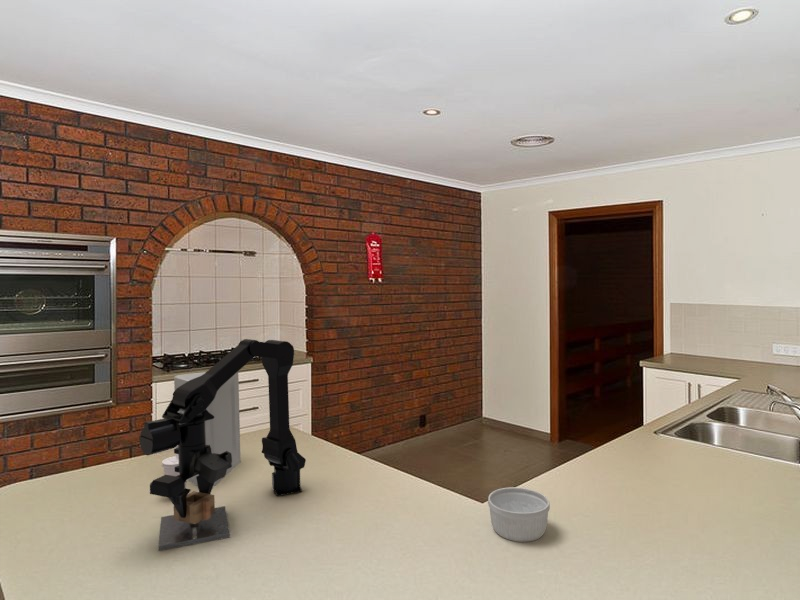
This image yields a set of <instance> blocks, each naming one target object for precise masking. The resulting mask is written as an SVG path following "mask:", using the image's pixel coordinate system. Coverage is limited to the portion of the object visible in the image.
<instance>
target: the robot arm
mask: <svg viewBox="0 0 800 600" xmlns="http://www.w3.org/2000/svg"><path fill="white" fill-rule="evenodd" d="M255 357H260V358H261V364H262V366H263V368H264V370H265V372H266V374H267V377H268V378H267V380H268V382H267V384H268V406H269V431H268V433H267V435H266V436H264V437H261V444H262V448H261V449H262V450H261V454H263V456H264V459H266V460H267V461H268V464H269V466H271V467H273V471H272V473H271V484H272V486H271V487H272V490H273V492H275V494H276V496H277V497H278V496H284V495H291V494H295V493H301V492H303V490H302V487H301V469H304V468H305V465H306V462H307V459H306V458H305V457H304V456H303V455H302V454H300V453H299V452H298V447H297V442H296V438H295V437H294V435H293V433H292V431H291V429H290V404H289V403H290V402H289V377H288V376H289V373H290V370H291V369H292V367H293V365H294V360H295V359H294V358H295V348H294V346H293V345H292V343H290V342H288V341H285V340H278V339H277V340H275V339H268V340H266V341H259V340H257V339H251V338H250V339H248V338H244V339H242V340H241V341H239V343H238V344H237V346H235V347H234V348H233V349H232V350H231V351H229V352H228V353H226V355H225V356H224V357H222V358H221V359H220V360H219V361H218V362H217V363H215V364H214V365H212V367H211V368H209V369H208V370H207V371H205V372H206V373H205V374H203V375H201V376H200V377H197V378H194V379H192V380H190V381H188V382H186V383H185V384H183V385H181V386H180V387H178V388H177V389H176V390H175V389H174V391H173V393H172V399H171V400H170V402H169V404H168V406H166V409H165V410H164V412H163V414H162V415H161V419H156V420H147V421H144V423H143V428H142V429H141V431H140V435H139V436H138V437H139V438H138V440H139V441H138V442H139V446H140V449H141V451H142V453H143V454H144V455H145V456H151V455H156V454H158V453H162V452H166V451H169V450H173V453H174V454H175V455H176V454H178V456H179V466H176V467H175V472H179V474H180V475H178V476H171V475H165V474H164V475H162V476H160V477H157V478H154V479H153V480H152V481H151V482H150V484H149V494H150V495H155V496H158V497H163V498H168V500H170V501H171V503H172V505H173V507H174V506H175V508H176V510H177V512H178V513H179V515H180V517H181V518H185V517H186V508H187V494H189V493H191V490H192V489H190V488H187V482H189V481H188V480H190V479H192V478H194V477H196V479H197V484H198V486H197V488H198V492H201V493H206V494H211V493H212V490H213V487H214V486H213V485H214V482H216V481H217V480H219V479H221V478H223V479H224V478H225V477H226V476H227V475H226V472H227V469H229V468H231V467H232V455H231V453H230V452H228V451H225V452H223V453H221V454H216V453H213V454H212V452H211V447H210V445H206V433H205V421H207V420H211V419H214V416H213V415H212V414H210V413H209V412H208V411H207V410H206V409H207V407H208V406H209V405H210V404H211V402H212V401H213V400H214V399H215V396H216V393H217V391H218V390H219V389H220V387H221V386H222V385H224V384H225V383H226V382H227V381H228V380H229V379H230V378H231V377H232V376H234V375H235V374H236V373H237V372H238V373H239V371H240V370H241V369H242V368H243V367H245V366H246V365H247V364H248V363H249V362H250V361H252V360H253V359H254V358H255ZM179 410H180V411H183V412H184V414H181V413H178V411H179ZM177 445H178V448H176V446H177ZM225 475H226V476H225Z"/></svg>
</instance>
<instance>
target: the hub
mask: <svg viewBox="0 0 800 600" xmlns="http://www.w3.org/2000/svg"><path fill="white" fill-rule="evenodd" d="M158 536H159V538H158V547H157V549H158V551H159V552H160V551H166V550H169V549H175V548H179V547H180V548H181V547H186V546H192V545H197V544H201V543H207V542H212V541H216V540H217V539H218V540H222V539H221V538H223V539H227V537H228V538H230V537H231V535H230V526H229V520H228V515H227V510H226V506H225V505H224V506H219V507H215V513H213V514H211V518H209V519H208V520H204V519H203V520H201V521H200V522H198V523H196V524H192V523H187V522H183V521H179V520H174V514H172V515H165V516H161V517H160V526H159V535H158Z"/></svg>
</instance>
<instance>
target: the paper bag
mask: <svg viewBox="0 0 800 600" xmlns="http://www.w3.org/2000/svg"><path fill="white" fill-rule="evenodd" d="M206 372H207V371H204V372H196V373H194V372H193V373H185V374H177V375H175V376H174V377H173V379H174V380H173V381H174V383H173V384H174V385H173V386H174V391H175V390H176V389H177V388H178V387H180V386H181V385H183V384H185V383H186V382H188V381H190V380H192V379H194V378H197V377H200V376H201V375H203V374H205V373H206ZM239 387H240V386H239V371H238V372H237V373H236V374H235V375H234V376H232V377H231V378H230V379H229V380H228V381H227V382H226V383H225V384H224V385H222V386H221V387H220V389H219V390H218V391H217V393H216V396H215V399H214V400H213V401H212V402H211V404H210V405H209V406H208V407H207V409H206V410H207V411H208V412H209V413H210V414H212V415H213V416H214V419H211V420H207V421H205V433H206V445H210V447H211V452H212V454H213V453H216V454H221V453H223V452H225V451H228V452H230V453H231V455H232V467H231V468H229V469H227V472H226V475H225V477H226V476H227V475H229V473H231V472H232V471H233V469H235V468H236V467H237V466H238V465H239V464H240V463H241V430H240V429H241V427H240V426H241V425H240V421H241V420H240V391H239V390H240V388H239ZM178 413H181V414H184V412H183V411H180V410H179V411H178ZM223 479H224V478H221V479H219V480H217V481H216V482H214V485H213V487H215V486H217V485H218V483H220V482H221V481H222V480H223ZM187 482H190V483H191V484H193V485H195V486H196V487H198V484H197V479H196V477H194V478H192V479H190V480H188V481H187Z"/></svg>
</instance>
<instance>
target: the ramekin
mask: <svg viewBox="0 0 800 600" xmlns="http://www.w3.org/2000/svg"><path fill="white" fill-rule="evenodd" d="M487 499H488V500H487V505H488V507H489V515H490V516H489V517H490V522H491V526H492V528H493V530H494V531H495V533H497V535H499V536H501V538H503V539H505V540H506V539H507V540H509V541H512V542H513V541H514V542H521V543H524V542H525V543H526V542H534V541H536V540H538V539H540V538H541V537H542V536H543V535H544V534H545V532H546V530H547V525H548V520H549V519H548V518H549V512H550V510H551V509H550V508H551V506H550V505H551V504H550V500H549V498H548V497H547V496H545V495H544V494H543V493H541V492H539V491H537V490H533V489H531V488H527V487H525V488H524V487H519V486H518V487H516V486H515V487H509V486H508V487H503V488H498V489H496V490H493V491H491V493H489V495H488V497H487Z"/></svg>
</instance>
